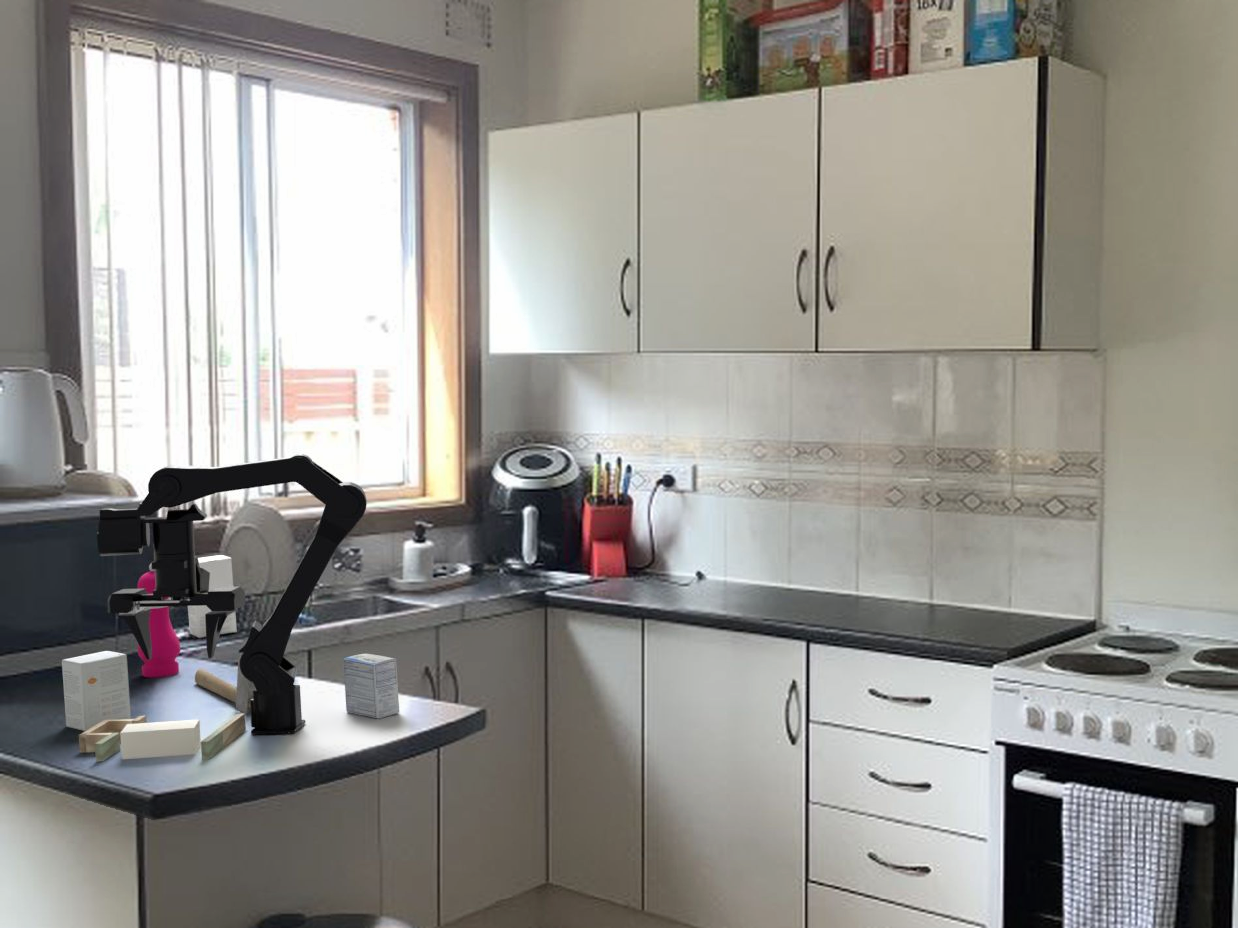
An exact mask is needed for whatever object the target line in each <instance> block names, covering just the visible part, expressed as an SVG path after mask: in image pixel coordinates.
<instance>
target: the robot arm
mask: <svg viewBox="0 0 1238 928" xmlns="http://www.w3.org/2000/svg"><path fill="white" fill-rule="evenodd" d="M289 483H297V485H300V486H301V487H302V488H304V489H305V490H306V491H307V492H308V493H310V494H311V495H312V496H313V497H315V498H316V499H318V501H319V502H321V503H323V504H324V508H323V510H322V511H323V512H322V514H321V517H320V521H319V523H318V526H317V529H316V533H315V534H314V536H313V538H312V541H311V542H310V544H309V546H308V548H307V549H306V551H305V552H304V553H305V554H304V555H303V557H302V558H301V561H300V563H299V564H298V566H297V567H296V570H295V571H294V573H293V575H292V577H291V579H290V581H289V583H288V584H287V586H286V588H285V590H284V591H283V593H282V595H281V597H280V599H279V601H278V603H277V604H276V606H275V608H274V610H273V612H272V613H271V615H270V616H269V617H268V618H267V620H266V621H265V622H264V623H263V624H261V623H260V622H258V620H254V621H253V624H252V626H251V629H250V632H249V635H248V637H247V638H246V639H245V640H243V642H242V643H241V645H240V647H239V649H238V654H239V653H243V654H242V656H241V659H240V663H239V666H240V670H241V673H242V674H243V675H244V677H245V678H246V679H248V680H249V681H251V682H253V683H254V686H255V688H256V689H254V690H253V699H252V700H251V701H250V711H251V714H250V724H251V725H250V726H251V728H252V729H251V731H250V733H251V735H259V734H260V735H266V734H267V735H269V734H275V735H276V734H278V735H279V734H295V733H296V732H298V730H299V729H301V728H302V727H303V726H304V725H305V724H306V719H303V718H302V717H303V716H302V698H301V684H294V683H295V680H296V676H297V671H298V668H297V666H295V665H294V663H292V662H291V661H290V660H288V659H287V657H285V656H284V654H285V653H286V650H287V649H286V648H287V645H288V643H289V640H290V638H291V637H290V636H291V634H292V631H293V629H294V626H295V625H296V623H297V621H298V619H299V617H300V615H301V613H302V612H303V610H304V608H305V606H306V605H307V602H308V600H309V599H310V597H311V596H312V593H313V591H314V589H315V588H316V586H317V584H318V582H319V581H320V579H321V577H322V575H323V573H324V572H325V570H326V568H327V566H328V564H329V562H330V561H331V558H332V557H333V554H335V551H336V549H337V548H338V547H339V545H340V544H341V543H342V542H343V541H344V539H345V538H346V537H347V536H348V535H349V533H351V531H352V530H353V529H354V528H355V527H356V525H357V524H358V523H359V521H360V520H361V519H362V517H363V516H364V515H365V513H366V509H367V496H366V492H365V491H364V489H363V488H362V487H361V486H360V485H359V484H357V483H355V482H352V481H342V480H341V479H339V478H338V477H336V476H335V475H334V474H332V473H331V472H329V471H328V470H326V469H325V468H324V467H322V466H321V465H319V464H317V463H316V462H315V461H313V459H312V458H311V457H310V456H309V455H306V454H304V453H303V454H302V453H297V454H294V455H291V456H287V457H280V458H272V459H267V460H259V461H249V462H244V463H243V462H242V463H235V464H230V465H229V464H228V465H223V466H221V465H220V466H201V465H199V466H198V465H177V464H176V465H175V464H171V465H168V466H164V467H162V468H160V469H158V470H156V471H155V472H154V473H153V474H152V476H151V477H150V479H149V481H148V484H147V490H148V494H147V495H146V496H145V498H144V499H143V501H141V502H140V503H139V504H138V508H137V507H136V508H120V509H119V508H117V509H116V508H113V507H112V508H111V507H108V508H105V507H104V508H101V509H100V510H99V519H98V529H97V533H96V541H97V548H98V549H97V550H98V554H99V556H100V557H106V556H109V557H110V556H124V555H125V556H127V555H129V556H130V555H142V553H143V549H144V548H145V547H146V548H147V547H150V543H151V532H150V531H151V529H150V524H151V525H152V526H151V527H152V540H153V560H154V561H151V562H150V564H151V565H152V569H155V583H156V589H155V590H153V594H148V592H147V590H146V589H138V588H122V589H120V590H118V591H115V592H112V593H110V595H109V596H108V599H107V603H106V604H107V613H108V614H117V615H116V619H118V620H123V622H124V623H125V624H126V626H127V627H128V629H129V630H130V632H131V633H132V634H133V637H135V639H136V642H137V643H138V645H139V646H140V648H141V650H142V651H143V653H144V655H145V657H146V659H151V658H152V644H151V635H150V627H149V617H150V611H151V609H144V607H155V606H169V607H188V606H203V605H207V607H208V608H209V609H210V610H211V611H210V612H208V613H207V614H205V621H206V637H205V638H206V639H205V641H206V644H205V645H206V652H207V658H208V659H212V658H214V655H215V652H216V649H217V645H218V641H219V638H220V635H221V634H220V632H221V629H222V627H223V624H224V622H225V620H226V618H227V616H228V615H230V614H232V613H233V612H235V613H236V612H237V610H238V609H239V608H242V607H243V606H245V605H246V603H247V602H246V593H245V591H244V589H243V588H242V587H241V586H233V587H217V588H215V589H213V590H210V591H209V579H210V572H208V571H206V570H205V569H203V568H200V567H199V560H198V558H199V557H198V555H197V556H196V551H195V549H196V548H195V534H194V533H195V532H194V531H195V530H194V529H195V528H194V522H199V521H200V522H201V521H204V520H206V518H208V515H207V513H206V512H204V511H203V510H202V509H200V508H199V506H198V505H197V504H196V503H193V504H191V505H190V507H189V508H185V509H168V510H167V513H166V516H157V517H155V516H154V517H153V516H152V515H154V514H155V513H157V512H159V510H161V509H162V508H174V507H178V506H180V505H184V504H187V503H190V502H193V501H197V500H200V499H202V498H204V497H205V498H206V497H207V496H211V495H215V494H218V493H223V492H225V493H226V492H232V491H239V490H246V489H252V488H260V487H261V488H262V487H266V486H267V487H268V486H274V485H281V484H289ZM149 516H152V517H149ZM164 597H170V598H172V599H171V600H164Z"/></svg>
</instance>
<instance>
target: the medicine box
mask: <svg viewBox="0 0 1238 928" xmlns="http://www.w3.org/2000/svg"><path fill="white" fill-rule="evenodd" d="M397 667H398V666H397V659H396V658H393V657H389V656H385V655H377V654H371V653H361V654H360V653H359V654H354V655H351V656H347V657H345V658H343V676H344V677H343V678H344V691H345V693H344V695H345V696H344V697H345V710H346V712H347V713H350V714H356V715H360V716H365V717H369V718H374V719H378V720H379V719H383V718H387V717H390V716H394V715H395V716H396V715H399V713H400V701H399V700H400V699H399V685H398V671H397V670H398V669H397Z"/></svg>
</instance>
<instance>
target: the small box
mask: <svg viewBox="0 0 1238 928" xmlns="http://www.w3.org/2000/svg"><path fill="white" fill-rule="evenodd" d="M127 657H128V655H127V654H126V653H121V652H116V651H110V650H104V651H103V650H102V651H98V652H94V653H89V654H88V653H87V654H83V655H79V656H75V657H70V658H64V659H61V668H62V681H63V697H64V712H65V725H66V726H65V727H67V728H71V729H74V730H78V731H83V732H85V731H87V730H88V729H90V728H92V727H93V726H95V725H97V724H98V723H100V722H102V721H103V720H113V719H132V715H131V700H130V698H131V697H130V686H129V671H128V669H129V668H128V658H127Z"/></svg>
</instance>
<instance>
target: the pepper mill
mask: <svg viewBox="0 0 1238 928" xmlns="http://www.w3.org/2000/svg"><path fill="white" fill-rule="evenodd" d="M148 569H149V571H148V572H146V573H144V574H142V575H141V576H140V577H139V580H138V582H137V589H146V590H147V592H148V594H153V590H155V589H156V583H155V569H152V565H151V563H150V564H149V566H148ZM164 600H172V597H164ZM144 609H151V611H150V617H149V627H150V635H151V644H152V658H151V659H146V657H145V655H144V653H143V651H142V650H141V648H140V646H139V644H138V645H137V655H138V656H139V658H140V659H141V660H142V661H143V662H144V664H142V665H141V670H142V671H141V674H142V677H145V678H149V679H150V678H154V679H155V678H164V677H171V676H174V675H177V674H179V672H180V668H179V662H178V661H176V659H177V658H178V656H179V654H180V653H181V643H180V640H179V638H178V636H177V634H176V632H175V629H174V628H173V625H172V622H171V620H170V613H169V612H170V606H155V607H144Z"/></svg>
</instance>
